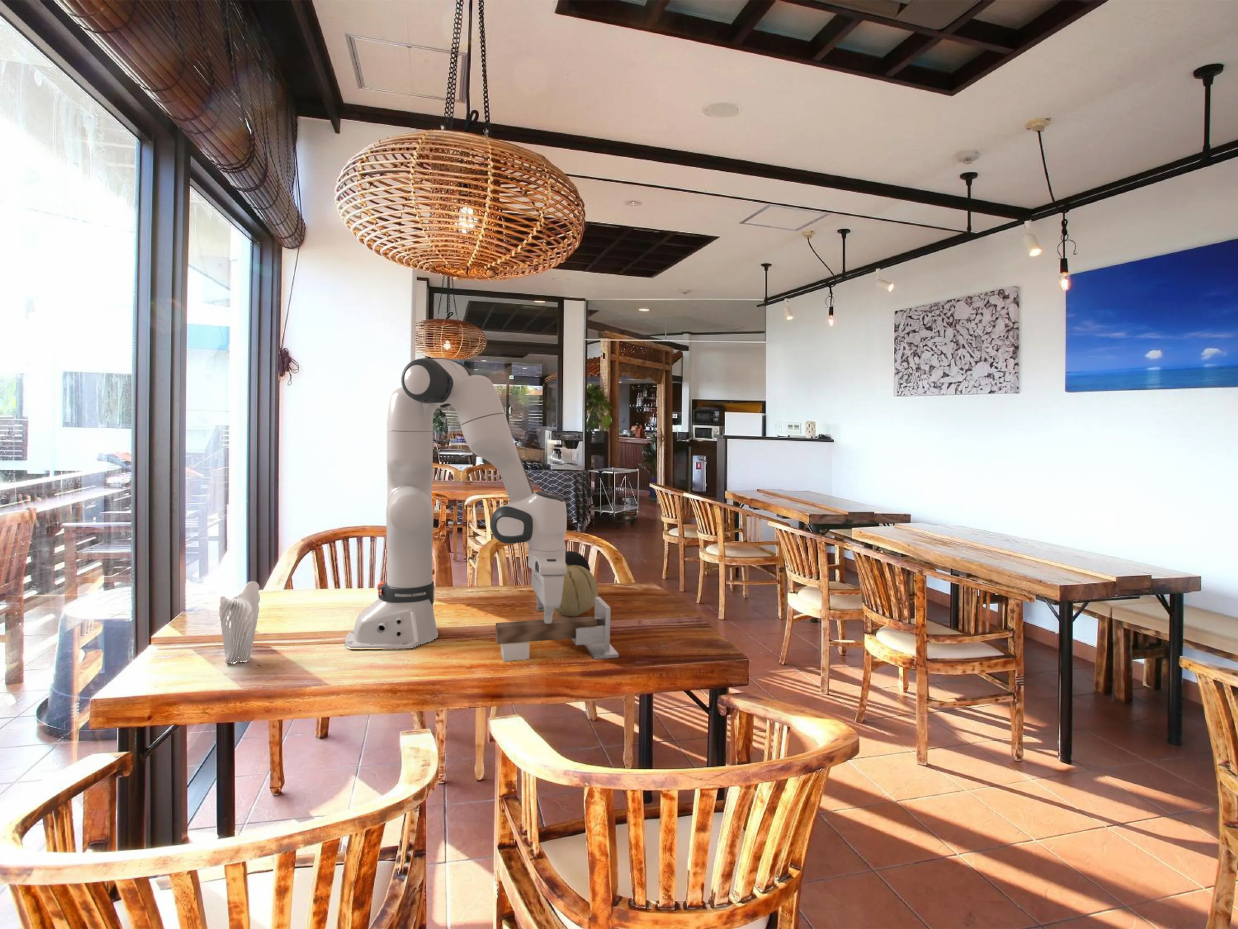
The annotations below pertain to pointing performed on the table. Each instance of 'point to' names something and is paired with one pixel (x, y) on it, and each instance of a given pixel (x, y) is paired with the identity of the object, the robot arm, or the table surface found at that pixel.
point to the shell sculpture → (239, 622)
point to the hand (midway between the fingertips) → (544, 616)
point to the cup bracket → (597, 633)
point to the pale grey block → (515, 651)
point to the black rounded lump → (576, 559)
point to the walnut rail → (540, 629)
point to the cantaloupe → (577, 591)
